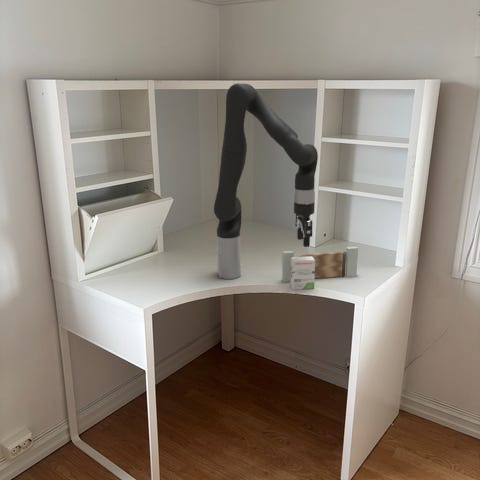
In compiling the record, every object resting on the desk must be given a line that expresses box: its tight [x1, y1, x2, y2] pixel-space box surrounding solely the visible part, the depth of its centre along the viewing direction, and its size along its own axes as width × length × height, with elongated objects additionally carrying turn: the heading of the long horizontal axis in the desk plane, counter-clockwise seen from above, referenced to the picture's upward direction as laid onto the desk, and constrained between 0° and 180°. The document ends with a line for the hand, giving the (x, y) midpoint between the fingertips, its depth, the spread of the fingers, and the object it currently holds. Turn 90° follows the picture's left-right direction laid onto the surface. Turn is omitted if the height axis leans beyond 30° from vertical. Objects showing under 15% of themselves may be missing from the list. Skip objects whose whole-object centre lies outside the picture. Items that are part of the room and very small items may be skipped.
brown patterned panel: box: [297, 251, 346, 279], centre depth 196 cm, size 20×2×10 cm, turn 99°
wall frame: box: [281, 246, 359, 283], centre depth 195 cm, size 30×2×12 cm, turn 99°
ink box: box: [290, 256, 316, 290], centre depth 187 cm, size 9×5×12 cm, turn 93°
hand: (303, 242), depth 183 cm, fingers open, 8 cm apart
